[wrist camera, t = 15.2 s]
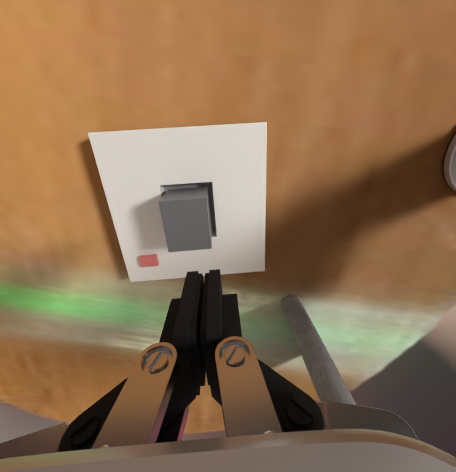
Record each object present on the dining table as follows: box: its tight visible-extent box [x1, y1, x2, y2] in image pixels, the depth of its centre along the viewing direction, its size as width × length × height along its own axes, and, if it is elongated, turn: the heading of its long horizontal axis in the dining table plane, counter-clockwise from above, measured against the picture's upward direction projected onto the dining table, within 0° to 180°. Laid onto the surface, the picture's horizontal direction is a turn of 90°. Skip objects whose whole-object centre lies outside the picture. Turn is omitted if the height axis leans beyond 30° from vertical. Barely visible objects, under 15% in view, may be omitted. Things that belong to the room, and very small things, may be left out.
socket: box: [88, 122, 267, 282], centre depth 30 cm, size 20×20×4 cm
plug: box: [158, 186, 212, 252], centre depth 28 cm, size 5×6×7 cm
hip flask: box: [281, 295, 356, 405], centre depth 34 cm, size 16×4×20 cm, turn 24°
